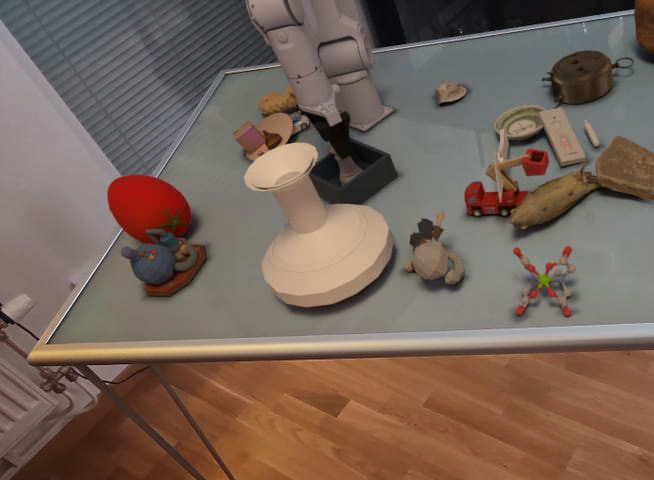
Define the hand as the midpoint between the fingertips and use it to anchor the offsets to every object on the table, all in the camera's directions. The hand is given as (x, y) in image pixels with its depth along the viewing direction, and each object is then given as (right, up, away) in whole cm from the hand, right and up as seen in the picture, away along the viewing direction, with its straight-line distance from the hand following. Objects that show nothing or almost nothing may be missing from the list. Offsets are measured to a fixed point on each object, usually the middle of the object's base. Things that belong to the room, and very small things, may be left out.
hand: (338, 147), depth 103 cm
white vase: (+2, -22, -8) cm, 24 cm away
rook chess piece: (+2, -4, +6) cm, 7 cm away
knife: (+26, -5, -10) cm, 29 cm away
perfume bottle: (-19, +9, +20) cm, 29 cm away
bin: (+2, -5, +6) cm, 8 cm away
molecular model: (+37, -27, -25) cm, 52 cm away
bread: (+62, +25, -4) cm, 67 cm away
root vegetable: (+36, -11, -15) cm, 41 cm away
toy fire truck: (+29, -13, -8) cm, 32 cm away
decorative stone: (+54, -10, -18) cm, 58 cm away
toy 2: (+17, -22, -12) cm, 30 cm away
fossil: (+15, +17, +17) cm, 28 cm away
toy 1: (-23, +16, +27) cm, 39 cm away
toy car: (-16, +10, +23) cm, 30 cm away
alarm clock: (+36, +14, +7) cm, 39 cm away
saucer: (+32, +4, +4) cm, 32 cm away
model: (-28, -21, +1) cm, 35 cm away
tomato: (-39, -6, +7) cm, 40 cm away
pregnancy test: (+38, +1, -2) cm, 38 cm away
